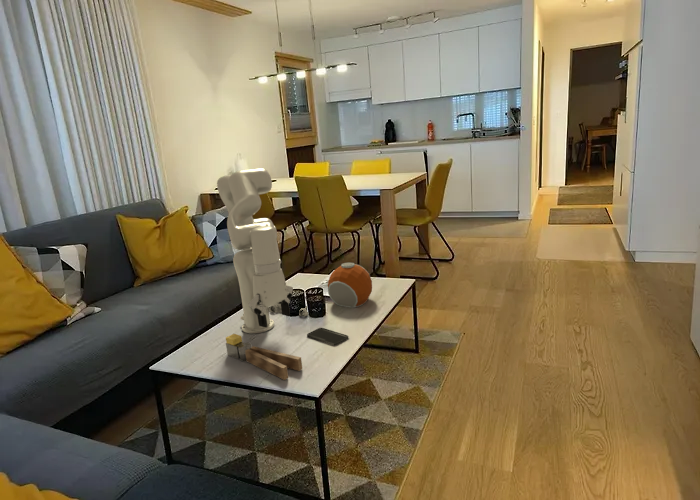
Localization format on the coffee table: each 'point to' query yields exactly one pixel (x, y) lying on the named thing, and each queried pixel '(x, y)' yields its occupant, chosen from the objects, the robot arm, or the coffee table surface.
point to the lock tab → (233, 339)
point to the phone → (327, 336)
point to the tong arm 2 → (281, 358)
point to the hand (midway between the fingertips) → (275, 320)
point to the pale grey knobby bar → (277, 309)
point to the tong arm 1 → (267, 364)
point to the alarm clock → (349, 285)
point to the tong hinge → (238, 350)
